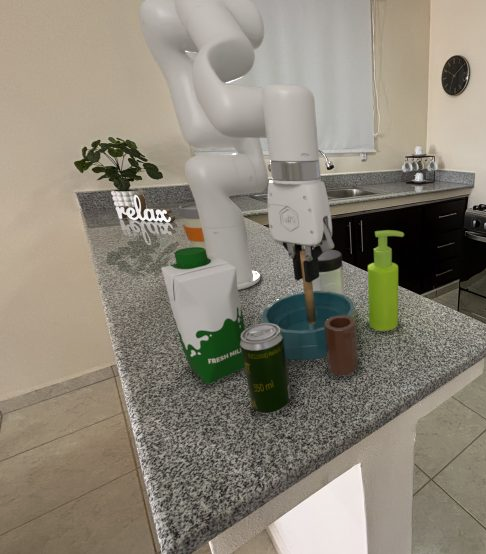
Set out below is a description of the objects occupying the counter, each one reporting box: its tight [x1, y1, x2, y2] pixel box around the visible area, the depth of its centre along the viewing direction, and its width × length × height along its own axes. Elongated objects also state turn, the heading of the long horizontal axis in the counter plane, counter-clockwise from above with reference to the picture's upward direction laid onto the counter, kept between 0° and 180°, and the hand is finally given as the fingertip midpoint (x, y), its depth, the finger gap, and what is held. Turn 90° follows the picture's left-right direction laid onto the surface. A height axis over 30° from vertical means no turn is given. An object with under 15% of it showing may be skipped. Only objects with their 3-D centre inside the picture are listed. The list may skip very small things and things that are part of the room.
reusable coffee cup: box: [178, 202, 208, 257], centre depth 111 cm, size 13×13×15 cm
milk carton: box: [160, 246, 246, 385], centre depth 54 cm, size 9×9×20 cm
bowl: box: [260, 291, 356, 361], centre depth 66 cm, size 17×17×6 cm
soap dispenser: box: [367, 229, 405, 332], centre depth 68 cm, size 6×7×20 cm
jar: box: [312, 249, 346, 296], centre depth 79 cm, size 9×8×12 cm
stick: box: [300, 248, 316, 325], centre depth 63 cm, size 2×2×15 cm
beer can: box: [240, 323, 292, 415], centre depth 49 cm, size 5×5×12 cm
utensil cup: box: [324, 315, 358, 377], centre depth 57 cm, size 5×5×9 cm
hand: (307, 278), depth 63 cm, fingers closed on stick, 1 cm apart
